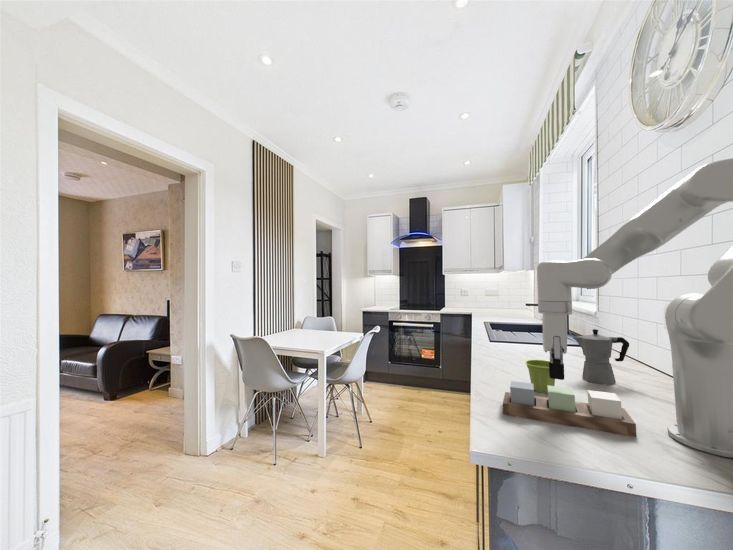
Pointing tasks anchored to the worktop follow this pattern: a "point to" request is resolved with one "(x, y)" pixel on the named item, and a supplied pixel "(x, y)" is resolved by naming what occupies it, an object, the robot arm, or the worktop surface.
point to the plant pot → (540, 375)
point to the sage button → (561, 398)
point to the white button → (604, 404)
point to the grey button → (522, 393)
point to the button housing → (570, 416)
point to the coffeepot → (599, 356)
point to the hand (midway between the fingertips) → (556, 378)
